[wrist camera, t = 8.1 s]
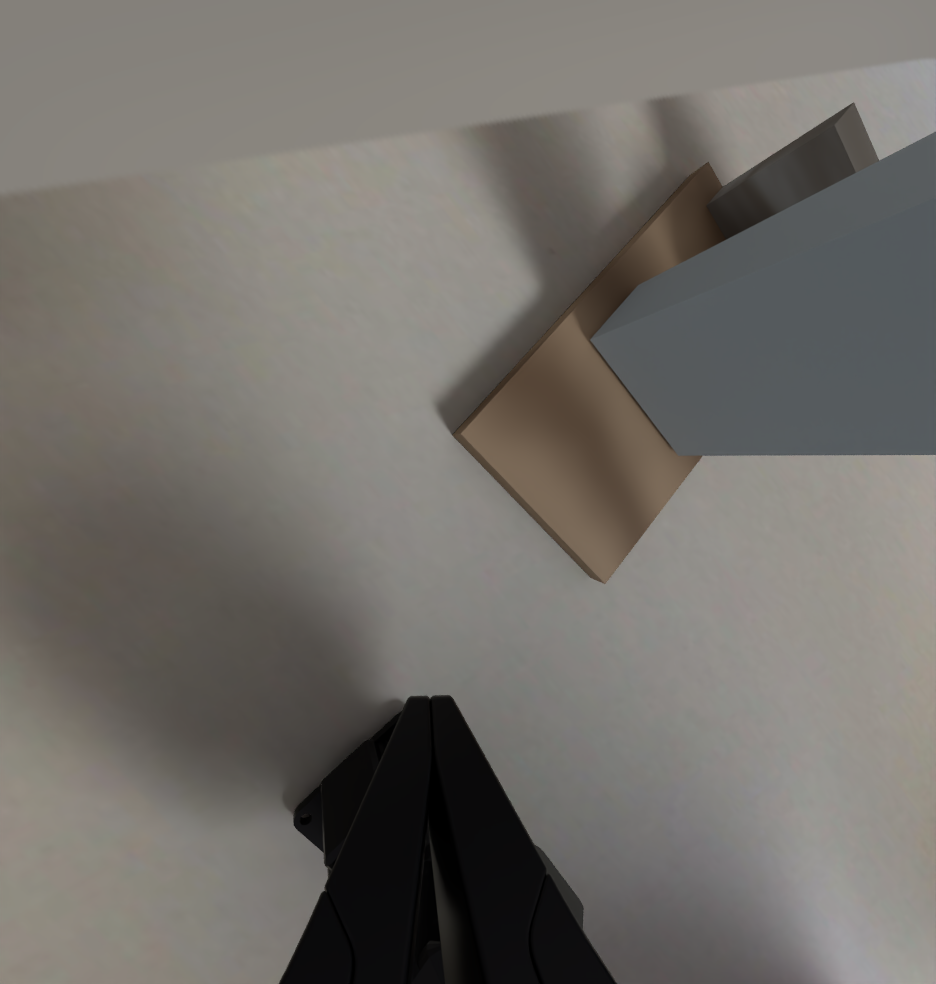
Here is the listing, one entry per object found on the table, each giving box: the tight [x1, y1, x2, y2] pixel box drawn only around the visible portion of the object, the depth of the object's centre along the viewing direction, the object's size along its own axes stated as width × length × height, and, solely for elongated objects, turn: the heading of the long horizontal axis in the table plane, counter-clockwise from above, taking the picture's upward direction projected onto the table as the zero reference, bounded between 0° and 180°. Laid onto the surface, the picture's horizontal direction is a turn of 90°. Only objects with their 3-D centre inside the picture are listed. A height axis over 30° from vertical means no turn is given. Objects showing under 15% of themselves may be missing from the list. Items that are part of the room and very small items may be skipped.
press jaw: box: [590, 132, 936, 456], centre depth 15 cm, size 4×8×15 cm, turn 46°
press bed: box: [453, 102, 879, 584], centre depth 21 cm, size 20×11×7 cm, turn 137°
